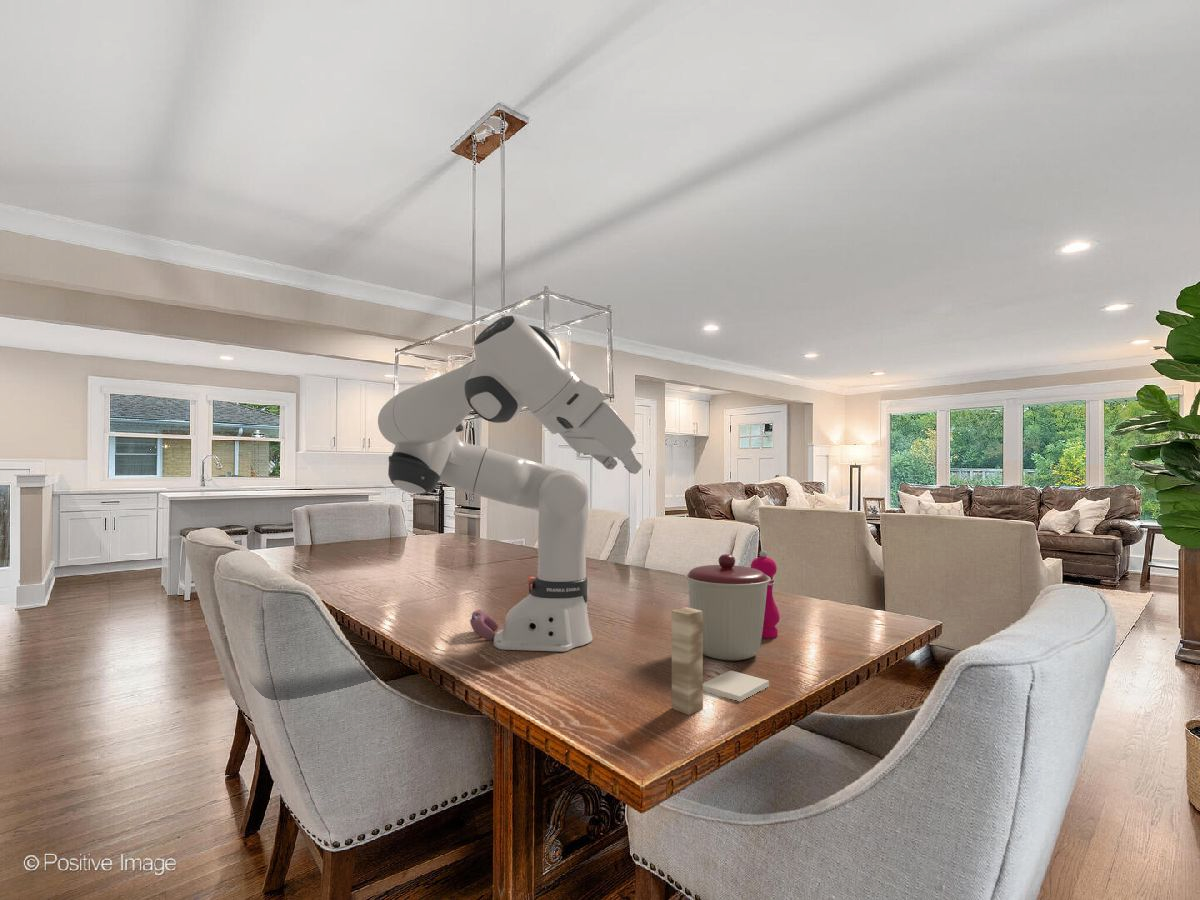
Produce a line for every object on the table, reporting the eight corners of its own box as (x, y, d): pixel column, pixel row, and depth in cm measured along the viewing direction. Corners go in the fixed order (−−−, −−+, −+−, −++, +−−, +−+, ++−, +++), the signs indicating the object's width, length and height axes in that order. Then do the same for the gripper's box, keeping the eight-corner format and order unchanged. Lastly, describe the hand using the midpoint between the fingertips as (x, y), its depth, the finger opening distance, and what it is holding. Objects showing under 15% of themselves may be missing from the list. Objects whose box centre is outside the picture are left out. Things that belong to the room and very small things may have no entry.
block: (688, 714, 95) (688, 614, 95) (671, 708, 98) (671, 610, 98) (702, 708, 97) (702, 610, 98) (686, 702, 100) (685, 607, 101)
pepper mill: (776, 631, 144) (776, 548, 144) (782, 639, 137) (782, 552, 137) (746, 630, 145) (745, 548, 145) (750, 638, 137) (750, 552, 138)
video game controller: (483, 635, 145) (470, 610, 145) (500, 627, 145) (487, 601, 145) (478, 648, 135) (464, 620, 135) (496, 638, 135) (482, 611, 135)
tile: (740, 696, 100) (768, 680, 107) (700, 684, 106) (730, 670, 113) (740, 705, 100) (769, 689, 107) (700, 693, 106) (730, 678, 113)
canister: (715, 636, 139) (715, 546, 140) (787, 653, 126) (786, 554, 127) (667, 653, 127) (667, 554, 127) (740, 674, 114) (740, 564, 114)
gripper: (533, 421, 99) (589, 477, 103) (572, 420, 80) (638, 489, 84) (559, 395, 100) (612, 451, 104) (603, 387, 81) (666, 457, 85)
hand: (624, 468), depth 94 cm, fingers open, 8 cm apart
